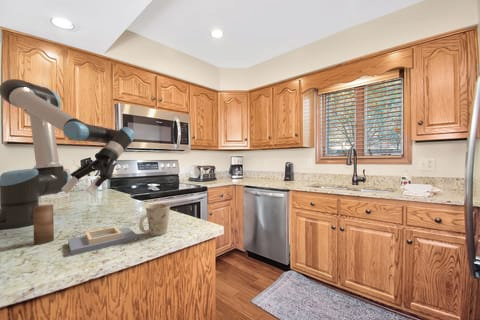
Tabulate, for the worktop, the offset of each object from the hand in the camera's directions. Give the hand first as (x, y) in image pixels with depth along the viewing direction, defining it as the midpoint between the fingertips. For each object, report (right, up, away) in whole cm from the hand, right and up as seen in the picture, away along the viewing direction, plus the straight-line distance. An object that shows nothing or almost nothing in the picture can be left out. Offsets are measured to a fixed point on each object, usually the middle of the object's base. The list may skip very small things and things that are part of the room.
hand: (76, 191), depth 83 cm
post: (-3, -15, -10) cm, 19 cm away
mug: (+32, -15, -4) cm, 35 cm away
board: (+17, -15, -11) cm, 25 cm away
